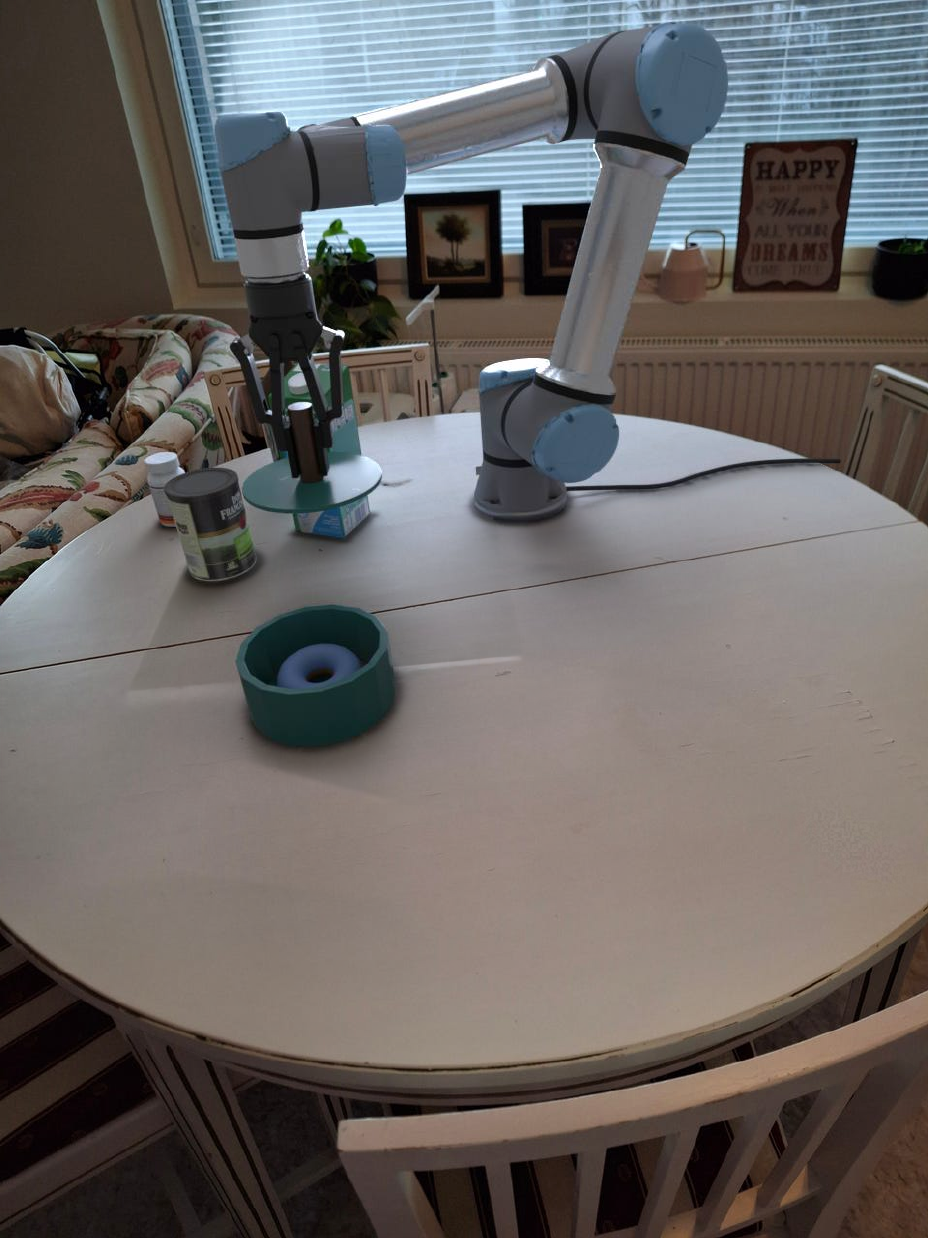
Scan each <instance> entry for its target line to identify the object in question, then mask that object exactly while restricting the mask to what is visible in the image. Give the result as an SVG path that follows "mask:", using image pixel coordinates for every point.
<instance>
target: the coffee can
mask: <svg viewBox="0 0 928 1238" xmlns="http://www.w3.org/2000/svg"><path fill="white" fill-rule="evenodd" d="M239 480H240V479H239V475H238V473H237V472H236V471H235V470H232V469H230V468H226V467H203V468H198V469H193V470H189V471H186V472H185V473H183V474H181V475H178V476H176V477H174V478H173V479H171V480H170V481H168V482H167V483H166V484H165V486H164V491H165V494H166V496H167V498H168V501H169V504H170V508H171V512H172V515H173V518H174V522H175V525H176V527H175V528H176V531H177V535H178V538H179V541H180V545H181V549H182V552H183V554H184V558H185V562H186V565H187V568H188V572H189V574H190V575H191V577H193V578H194V579H196V580H199V581H206V582H219V581H224V580H229V579H232V578H237V577H238V576H241V575H242V574H245V573H246V572H248V571H249V570H251V569H252V568H253V567H254V566H255V565H256V562H257V555H256V550H255V546H254V542H253V541H254V540H253V538H252V537H253V536H252V533H251V529H250V526H249V525H250V524H249V521H248V517H247V516H248V515H247V513H246V508H245V504H244V500H243V499H244V498H243V494H242V490H241V486H240V482H239Z"/></svg>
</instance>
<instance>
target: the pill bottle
mask: <svg viewBox="0 0 928 1238" xmlns="http://www.w3.org/2000/svg"><path fill="white" fill-rule="evenodd" d="M143 461H144V465H145V469H146V472H147V473H148V474H147V478H146V481H147V486H148V488H149V492H150V494H151V498H152V500H153V504H154V507H155V510H156V513H157V517H158V520H159V522H160V524H161V525H162V526H164V527H168V528H176V525H175V522H174V518H173V515H172V512H171V508H170V504H169V501H168V498H167V496H166V494H165V491H164V486H165V484H166V483H167V482H168V481H170V480H171V479H173V478H174V477H176V476H178V475H181V474H183V473H186V472H185V470H184V469H183V468H182V467H180V461H179V458H178V455H177V454H176V452H172V451H161V452H157V453H153V454H151V455H149V456H147V457H146V458H145V459H144V460H143Z"/></svg>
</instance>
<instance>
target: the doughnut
mask: <svg viewBox="0 0 928 1238" xmlns="http://www.w3.org/2000/svg"><path fill="white" fill-rule="evenodd" d="M362 667H363V664H362V662H361V660H360V658H357V656H356V655H355V654H354V653H353V652H351V651H350V650H348V649H347V648H345V647H342V646H339V645H335V644H316V645H311V646H308V647H305V648H303V649H300V650H298V651H297V652H295V653H294V654H292V655H291V656H290V657H288V658H287V660H286V661H285V662H284V663H283V664H282V666H281V668H280V671H279V673H278V674H277V675H276V677H277V687H283V688H289V689H299V688H310V687H320V686H323V685H326V684H329V683H332V682H335V681H338V680H341V679H344V678H347V677H348V676H350V675H351V674H353V673H354V672H356V671H357V670H359V669H360V668H362ZM324 674H325V675H331V676H333V677H332V678H330V679H329V680H327V681H324V682H320V683H311V682H308V681H309V680H310V679H312V678H313V677H316V676H318V675H324Z"/></svg>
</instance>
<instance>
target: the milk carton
mask: <svg viewBox="0 0 928 1238" xmlns="http://www.w3.org/2000/svg"><path fill="white" fill-rule="evenodd" d="M295 364H296V365H295V366H294V367H293V368H292V369H291V371H290V372H289V373H288V374H287V375H286V376H285V377H284V389H285V415H286V417H285V422H286V421H289V415H288V410H287V407H288V406H289V405H291V404H294V403H298V402H308V403H311V404H312V408H313V414H314V420H315V419H318V418H317V415H316V412H315V409H314V406H313V403H312V400H311V397H310V393H309V390H308V387H307V384H306V381H305V378H304V375H303V372H302V370H301V369H300V366H299V363H298V362H296V363H295ZM341 365H342V383H343V402H344V409H343V413H342V416H341V417H340V418H335V419H333V420H332V421H331V426H332V433H333V439H334V440H333V444H332V448H327V452H344V453H352V454H357V455H361V456H363V455H362V448H361V442H360V434H359V427H358V421H357V414H356V413H357V412H356V407H355V400H354V395H353V394H354V393H353V387H352V381H351V373H350V367H349V365H343V364H341ZM315 366H316V370H317V373H318V376H319V379H320V382H321V385H322V389H323V392H324V395H325V398H326V401H327V405H328V407H330V406H332V403H331V387H330V371H329V363H328V364H325V363H315ZM268 399H269V404H270V409H271V411H272V398H271V393H270V395H269V396H268ZM279 452H280V457H281V459H285V458H288V453H287V451H280V450H279ZM368 495H369V494H368ZM368 495H367V496H365V497H363V498H362V499H360V500H357V501H355V502H353V503H350V504H347V505H345V506H341V507H338V508H334V509H330V510H325V511H319V512H312V513H299V514H291V515H292V519H293V524H294V529H295V532H299V533H300V532H301V533H308V534H315V535H323V536H329V537H335V538H336V537H337V538H346V537H347V536H348V535H349V534H350V533H351V532H352V531H353V530H354V529H355V528H356V527H357V526H358V525H359V524H361V522H362V521H363V520H365V519H366V518H367V517H368V516H369V515H370V514H371V509H370V503H369V496H368Z"/></svg>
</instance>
